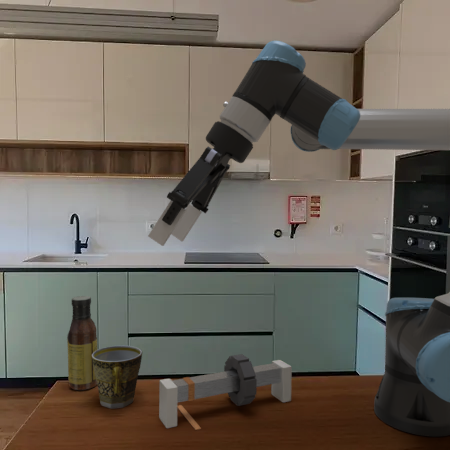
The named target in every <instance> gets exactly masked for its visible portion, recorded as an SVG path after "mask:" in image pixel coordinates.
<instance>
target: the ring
mask: <svg viewBox="0 0 450 450" xmlns="http://www.w3.org/2000/svg"><path fill="white" fill-rule="evenodd" d="M224 364H225V365H224V366H223V370H224V371H223V372H225V371H231V370H237V372H238V375H239V378H240V390H239V391H234V392H229V393H227V395H228V397H229V398H230V400H231V402H233V404H235V405H236V406H237V407H240V406H245V405H249V404H251V403H252V402H253V401H254V399H256V395H257V388H258V387H257V379H256V378H254V377H255V376H256V374H255V371H254V369H253V367H254V365H253V364H252V361H251V360H250V358H248V357H247V356H246V355H244V354H242V353H241V354H234V355H230V356H229V357H228V358H227V359H226V361H225V362H224Z"/></svg>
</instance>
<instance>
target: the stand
mask: <svg viewBox="0 0 450 450" xmlns="http://www.w3.org/2000/svg"><path fill="white" fill-rule="evenodd" d="M271 363H274V364H276V365H278V366H279V367H281V368H282V377H281V382H280V383H275V384H271V390H270V391H271V392H270V393H271V395H272V396H273V397H275V398H276V399H278V401H280V402H282V403H286V402H287V403H288V402H291V401H292V376H293V375H292V374H293V373H292V372H293V371H292V370H293V369H292V368H293V367H292V366H291V365H290V364H288V363H286V362H284V361H282V360H281V359H277V360H271ZM172 380H173V379H171V378H164V379H160V380H159V391H158V392H159V399H158V400H159V401H158V402H159V403H158V404H159V407H158V409H159V410H158V411H159V412H158V414H159V415H158V418H159V420H160V421H161V423H162V424H163V426H164V427H165V428H166V429H170V428H175V427H177V426H178V411H179V412H180V413H181V414H182V416H183V417H184V418H185V419H186V421H187V422H188V423H189V424H190V425H191V426H192V428H193V429H194V431H199V430H201V429H202V427H200V425H199V423H197V422H196V421H195V419H194V418H193V417H192V416H191V415H190V413H189V412H188V411H187V410H186V409H185V408H184V406H183V405H182V404H179V405H178V403H177V392H178V387H177V386H176V385H175V384H174V383H173V382H172Z"/></svg>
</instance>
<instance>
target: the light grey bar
mask: <svg viewBox="0 0 450 450" xmlns="http://www.w3.org/2000/svg"><path fill="white" fill-rule="evenodd" d="M253 369H254V371H255V374H256V376H255V377H254V378H256V379H257V387H256V388H258V387H264V386H269V385H270V386H271V385H272V384H275V383H280V382H281V377H282V368H281V367H279V366H278V365H276V364H274V363H272V362H271V363H267V364H260V365H253ZM171 380H172V382H173V383H174V384H175V385H176V386H177V387H178V392H177V404H178V403H182V402H183V403H184V402H186V401H188V402H190V401H195V400H198V399H203V398H208V397H213V396H219V395H224V394H228V393H229V392H234V391H239V390H240V378H239V375H238V372H237V370H231V371H225V372H224V371H221V372H215V373H208V374H204V375H203V374H202V375H197V376H191V377H190V376H186V377H182V378H179V379H174V380H173V379H171Z"/></svg>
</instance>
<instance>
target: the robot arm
mask: <svg viewBox="0 0 450 450" xmlns="http://www.w3.org/2000/svg"><path fill="white" fill-rule="evenodd" d="M251 63H252V64H251V65H250V67H249V68H248V70H247V72H246V73H245V75H244V77H243V79H242V80H241V82H240V83H239V85H238V86H237V88H236V90H235V91H234V93H233V94H232V95H231V98H230V99H229V101H224V102H223V103H222V105H223V107H224V109H223V110H222V112H221V113H220V114H219V119H220V121H219V120H218V121H215V122H214V123H213V125H212V127H211V128H210V130H209V131H208V133H207V134H206V136H205V140H206V142H207V143H208V144H209V145H210V146H212V147H213V148H211V147H210V146H207V147H205V149H204V151H203V152H202V154H201V155H200V157H199V158H198V159H197V160H196V162H195V163H194V164H193V165H192V167H191V168H190V169H189V170H188V171H187V172H186V174H185V175H184V177H182V179H181V180H180V182H178V184H177V185H176V186H175V187H174V188H173V190H172V191H169V192H168V194H167V195H166V199H169V200H170V201H169V203H168V204H167V206H166V207H165V209H164V210H163V211H162V214H161V215H160V216H159V217H158V220H157V221H156V223H155V224H154V226H153V227H152V228H151V230H150V232H149V234H148V235H147V237H148V238H149V239H152V240H153V241H154V242H156V243H157V244H159V245H160V246H162V247H163V246H165V244H167V241H168V240H169V238H170V236H171V235H172V236H173V237H175V239H177V240H179V241H180V242H184V241H185V239H186V238H187V236H188V234H189V233H190V232H191V229H192V228H193V226H194V225H195V223H196V222H197V220H198V219H199V217H200V216H201V214H202V213H204V214H207V212H208V211H209V208H208V207H209V206H210V204H211V201H212V199H213V197H214V195H215V194H216V192H217V190H218V189H219V186H220V184H221V182H222V181H223V179H224V177H225V176H226V174H227V172H228V171H229V170H230V167H231V165H230V164H229V163H230V162H229V161H230V160H231V159H232V160H233V161H234V162H237V163H239V164H243V163H244V162H245V161H246V160H247V158H248V157H249V154H251V151H252V150H253V149H254V144H253V143H257V142H259V140H260V138H262V136H263V134H264V132H265V131H266V130H267V128H268V126H269V125H270V123H271V121H272V120H273V117H275V115H277V116H278V117H280V119H282V120H284V121H285V122H287V123H289V124H290V125H291V126H290V136H291V141H292V143H293V144H294V145H295V147H296V148H298V149H299V150H300V151H303V152H305V153H306V152H308V153H312V152H317V151H319V150H332V151H337V150H386V151H387V150H393V151H394V150H397V151H398V150H399V151H400V150H401V151H403V150H406V151H407V150H409V151H414V150H415V151H450V108H356V107H355V106H354V105H352V103H350V102H349V101H348V100H347V99H345V98H342V97H340V96H338V95H337V94H335V93H334V92H332V91H330V90H329V89H328V88H326V87H324V86H323V85H321V84H319V83H318V82H316V81H314V79H313V80H312V79H311V78H309V77H308V76H306V74H305V72H304V71H305V68H306V64H307V63H306V60H305V57H304V56H303V55H302V54H301V53H300V52H299V51H297V50H296V48H295V47H294V46H292V45H290V44H288V43H286V42H284V41H282V40H270V41H269V42H267V43H266V44H265V46H264V47H263V48H262V49H261V51H260V52H259V53H258V55H257V57H256V58H255V59H253V61H252V62H251ZM384 315H385V345H384V347H385V349H384V373H383V376H382V378H381V381H380V383H379V386H378V389H377V392H376V394H375V397H374V403H373V405H374V407H373V409H374V413H375V415H376V416H377V418H378V419H379V420H380V421H382V422H383V423H384V424H386V425H388V426H390V427H392V428H394V429H396V430H399V431H402V432H405V433H408V434H413V435H415V436H422V437H433V438H434V437H435V438H437V437H438V438H440V437H448V436H450V291H449V292H448V293H445V294H442V295H438V296H436V297H435V298H427V297H426V298H425V297H392V298H390V299H389V300H388V301H387V303H386V310H385V314H384Z"/></svg>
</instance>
